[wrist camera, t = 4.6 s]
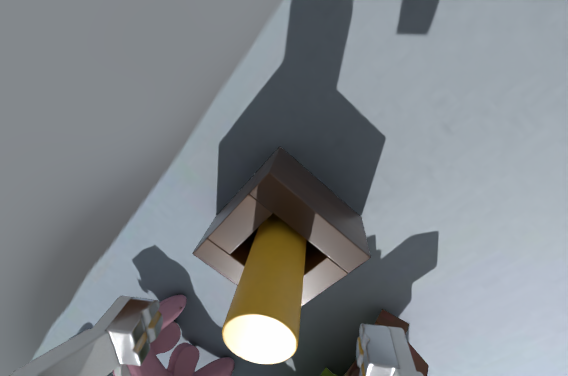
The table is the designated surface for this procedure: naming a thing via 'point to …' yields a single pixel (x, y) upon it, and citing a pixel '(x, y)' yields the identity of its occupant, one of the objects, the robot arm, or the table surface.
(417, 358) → the toy
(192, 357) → the video game controller
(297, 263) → the peg
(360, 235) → the stand
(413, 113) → the table surface
